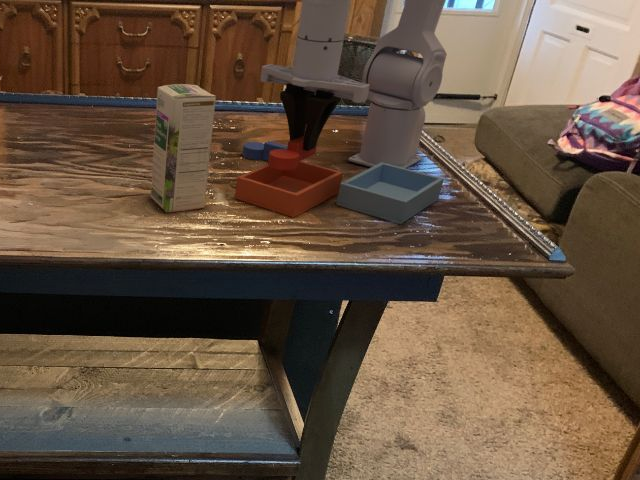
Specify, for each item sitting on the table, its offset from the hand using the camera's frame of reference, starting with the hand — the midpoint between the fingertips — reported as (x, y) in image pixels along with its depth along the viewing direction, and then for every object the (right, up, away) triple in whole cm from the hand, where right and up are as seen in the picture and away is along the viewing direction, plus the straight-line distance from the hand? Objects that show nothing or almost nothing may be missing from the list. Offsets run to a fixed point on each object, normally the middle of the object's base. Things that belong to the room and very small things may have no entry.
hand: (302, 147), depth 102 cm
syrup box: (-17, -8, -1) cm, 19 cm away
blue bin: (+12, -7, +2) cm, 14 cm away
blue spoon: (-2, +3, +14) cm, 15 cm away
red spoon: (-1, -2, -1) cm, 3 cm away
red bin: (-1, -6, +2) cm, 7 cm away
